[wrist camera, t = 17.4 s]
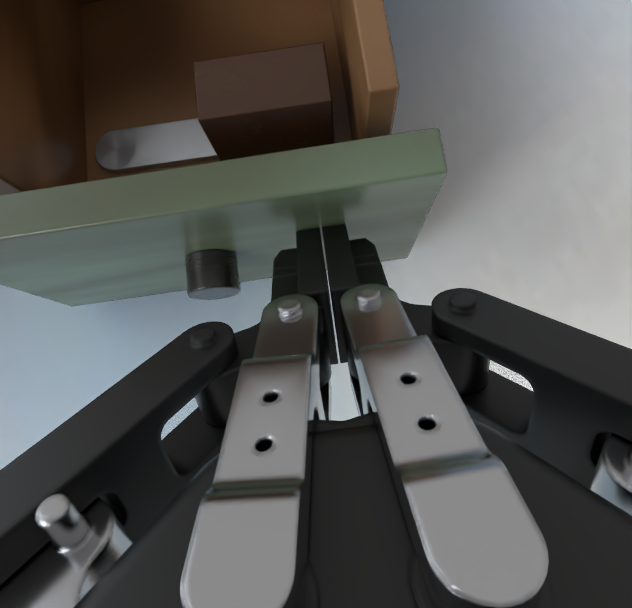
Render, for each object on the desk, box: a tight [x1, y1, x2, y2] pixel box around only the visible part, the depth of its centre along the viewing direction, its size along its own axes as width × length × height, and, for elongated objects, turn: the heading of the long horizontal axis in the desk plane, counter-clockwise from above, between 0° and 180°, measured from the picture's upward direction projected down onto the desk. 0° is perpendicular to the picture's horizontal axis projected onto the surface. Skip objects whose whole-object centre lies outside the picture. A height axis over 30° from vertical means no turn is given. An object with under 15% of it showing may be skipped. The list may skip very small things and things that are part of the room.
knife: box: [95, 42, 334, 173], centre depth 17 cm, size 9×2×3 cm, turn 97°
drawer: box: [0, 0, 447, 306], centre depth 16 cm, size 15×13×7 cm
